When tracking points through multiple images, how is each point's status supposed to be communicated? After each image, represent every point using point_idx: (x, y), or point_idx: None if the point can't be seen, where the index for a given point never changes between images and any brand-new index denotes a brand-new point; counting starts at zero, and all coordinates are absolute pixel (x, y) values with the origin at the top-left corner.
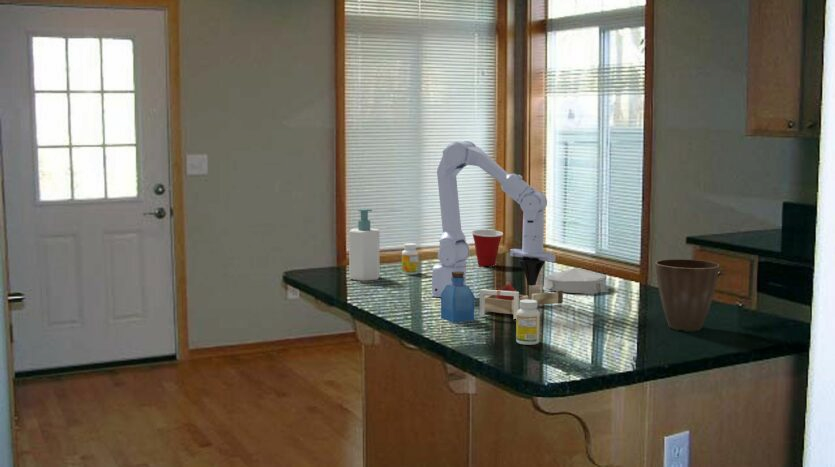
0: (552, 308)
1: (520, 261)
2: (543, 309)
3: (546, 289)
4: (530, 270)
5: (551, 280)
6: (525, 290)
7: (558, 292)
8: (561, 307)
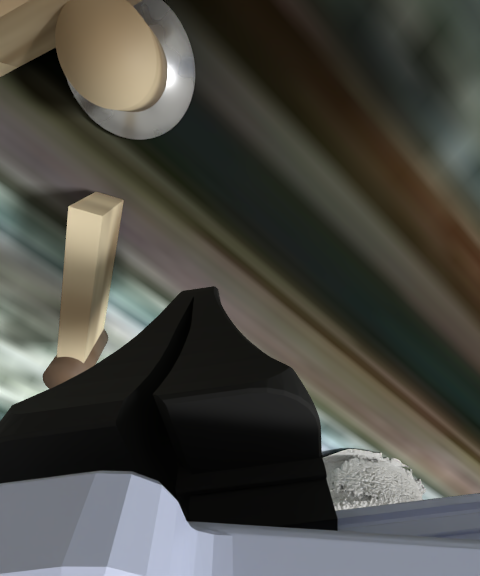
0: (28, 253)
1: (267, 378)
2: (18, 194)
3: (369, 456)
4: (134, 352)
5: (362, 500)
6: (426, 403)
7: (53, 361)
8: (37, 303)
